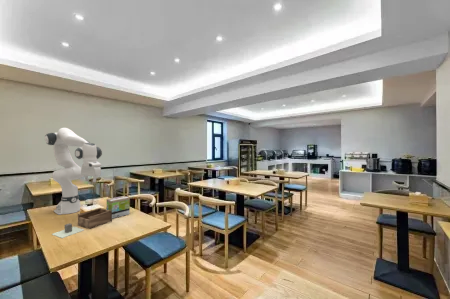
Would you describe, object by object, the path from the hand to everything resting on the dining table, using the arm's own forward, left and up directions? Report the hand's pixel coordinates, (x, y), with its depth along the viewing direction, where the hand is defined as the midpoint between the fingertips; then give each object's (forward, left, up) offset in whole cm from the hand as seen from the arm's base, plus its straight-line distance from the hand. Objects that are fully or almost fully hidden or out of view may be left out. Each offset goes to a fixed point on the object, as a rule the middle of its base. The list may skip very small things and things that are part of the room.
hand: (90, 181), depth 155 cm
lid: (+7, -19, -32) cm, 38 cm away
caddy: (+7, -1, -31) cm, 32 cm away
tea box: (+7, +18, -31) cm, 37 cm away
